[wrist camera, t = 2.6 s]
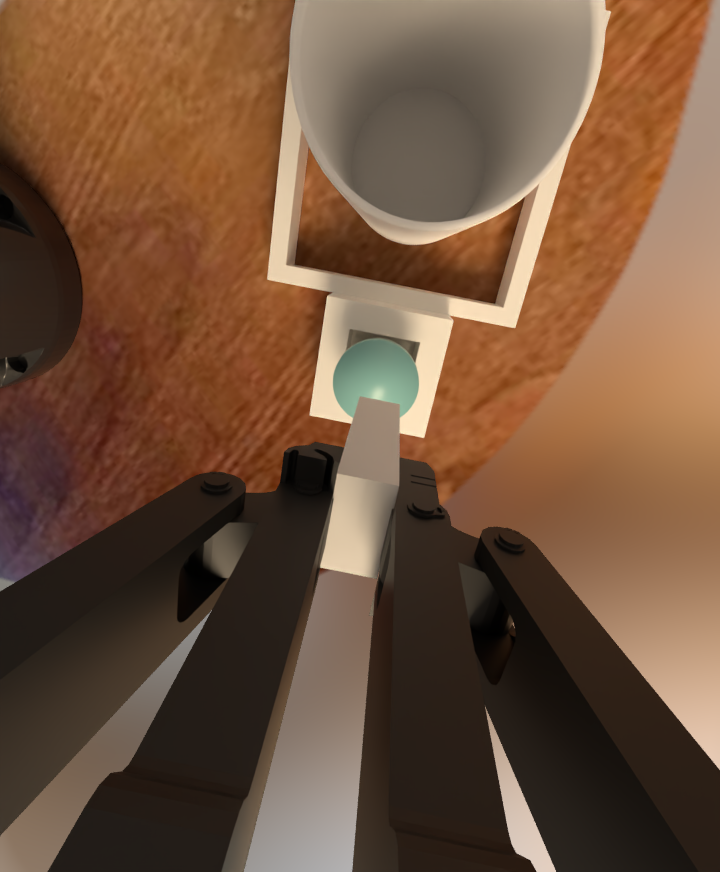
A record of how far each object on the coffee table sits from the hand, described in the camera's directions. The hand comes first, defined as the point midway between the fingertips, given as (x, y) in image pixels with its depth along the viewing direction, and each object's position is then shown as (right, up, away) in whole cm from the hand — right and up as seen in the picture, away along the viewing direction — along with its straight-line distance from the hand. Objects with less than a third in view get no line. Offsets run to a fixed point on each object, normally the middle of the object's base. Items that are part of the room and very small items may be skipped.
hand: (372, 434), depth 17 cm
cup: (+3, +16, +10) cm, 19 cm away
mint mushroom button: (+1, +4, +11) cm, 12 cm away
